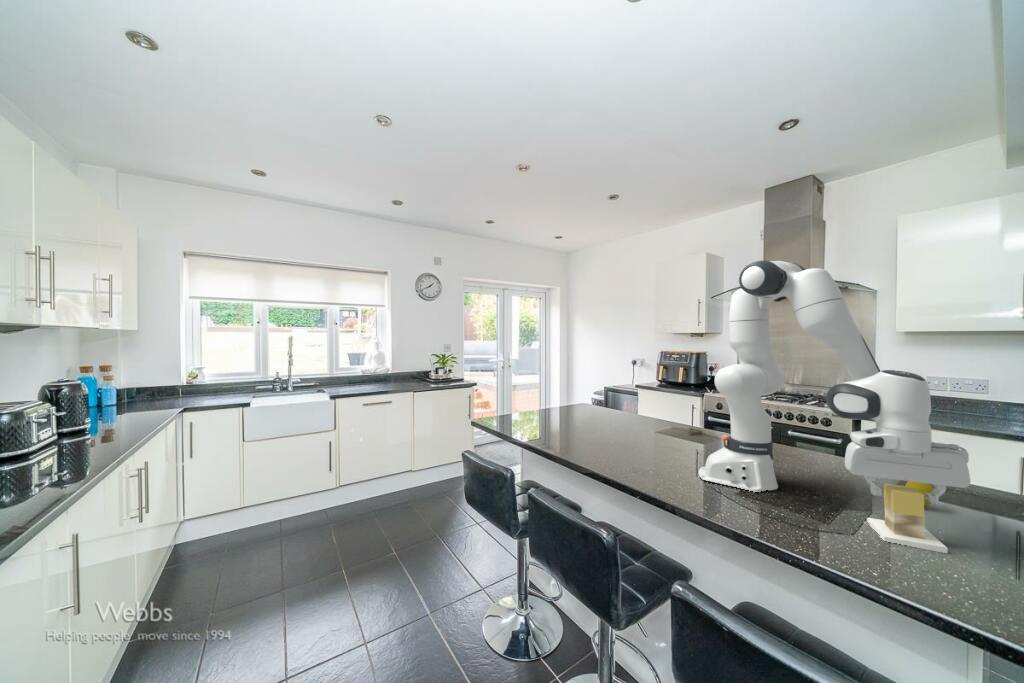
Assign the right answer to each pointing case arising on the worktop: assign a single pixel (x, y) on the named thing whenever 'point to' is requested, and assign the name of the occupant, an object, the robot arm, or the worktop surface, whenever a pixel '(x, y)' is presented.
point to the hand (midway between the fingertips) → (903, 498)
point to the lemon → (921, 489)
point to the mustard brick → (904, 500)
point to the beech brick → (905, 524)
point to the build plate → (889, 536)
